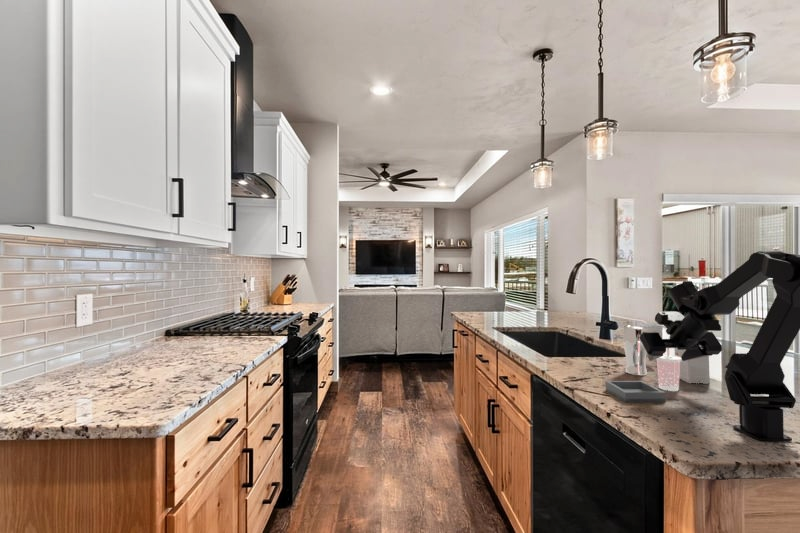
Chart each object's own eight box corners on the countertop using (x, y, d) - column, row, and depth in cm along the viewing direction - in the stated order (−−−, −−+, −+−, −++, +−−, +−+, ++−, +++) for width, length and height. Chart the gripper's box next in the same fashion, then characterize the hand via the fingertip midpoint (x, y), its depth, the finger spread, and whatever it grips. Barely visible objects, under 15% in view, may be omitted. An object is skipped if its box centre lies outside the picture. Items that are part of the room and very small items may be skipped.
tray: (665, 402, 97) (665, 392, 97) (625, 402, 98) (625, 392, 98) (642, 389, 107) (641, 380, 107) (605, 389, 108) (605, 381, 108)
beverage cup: (673, 385, 111) (672, 337, 111) (687, 392, 105) (686, 341, 105) (651, 385, 111) (650, 337, 111) (663, 391, 105) (662, 341, 105)
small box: (710, 384, 111) (709, 348, 111) (688, 383, 112) (687, 348, 112) (694, 377, 119) (694, 343, 119) (674, 376, 120) (674, 342, 120)
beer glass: (618, 372, 126) (617, 326, 126) (632, 369, 129) (631, 324, 129) (639, 377, 119) (638, 329, 119) (653, 374, 122) (652, 327, 122)
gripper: (713, 302, 103) (684, 335, 114) (642, 303, 104) (621, 336, 115) (738, 336, 95) (705, 368, 106) (662, 337, 96) (637, 369, 107)
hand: (665, 359), depth 109 cm, fingers open, 9 cm apart
